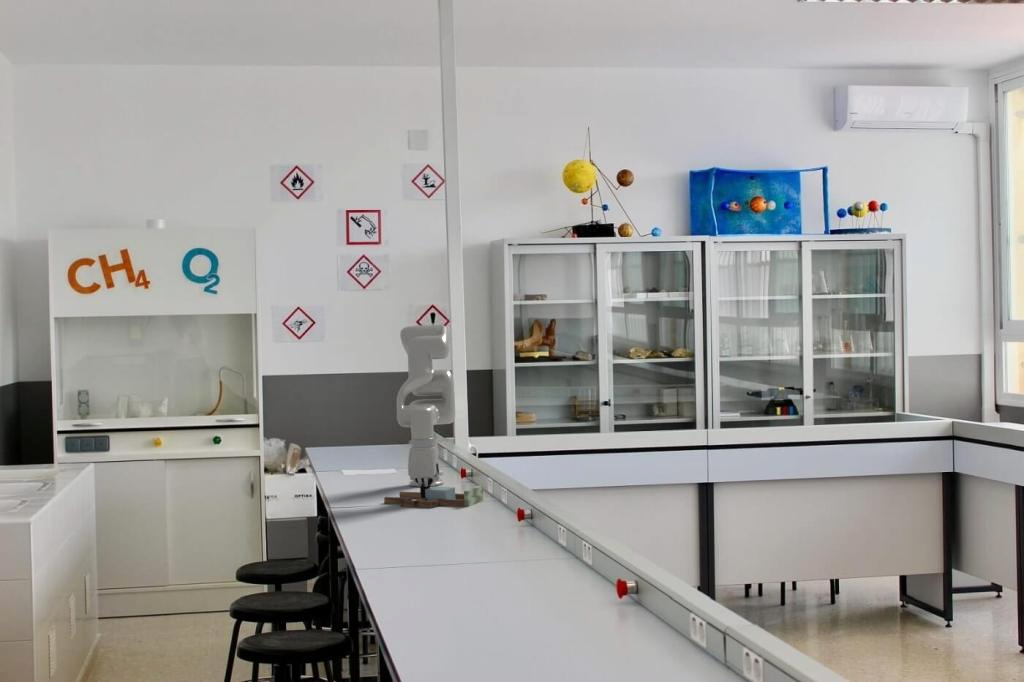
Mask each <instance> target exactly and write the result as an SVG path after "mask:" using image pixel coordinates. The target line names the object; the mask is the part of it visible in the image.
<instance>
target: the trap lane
mask: <svg viewBox="0 0 1024 682" xmlns="http://www.w3.org/2000/svg"><path fill="white" fill-rule="evenodd" d="M398 494H399V497H398V496H384V497H383V502H384V504H390V505H391V504H392V505H393V504H394V505H400V507H404V508H422V509H423V508H426V509H427V508H428V509H435V508H437V507H440V506H441V507H462V508H463V507H467V508H469V507H471V506H474V505H476V504H478V503H481V502H483V501H484V500H485V499H484V498H485V497H484V485H477V486H475V487H472V488H469V489H467V490H464V491H463V493H455V499H436V500H433V501H427V498H421V494H420V491H399V492H398Z"/></svg>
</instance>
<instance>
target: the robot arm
mask: <svg viewBox="0 0 1024 682" xmlns="http://www.w3.org/2000/svg"><path fill="white" fill-rule="evenodd" d="M449 334H450V333H449V330H448V328H447V326H446V325H443V324H430V325H428V324H427V325H410V326H406V327H403V328H401V330H400V341H401V344H402V347H403V349H404V351H405V353H406V354H407V369H408V371H407V373H408V377H407V379H406V381H404V383H403V384H402V385H401V387H400V389H399V390H398V392H397V396H396V421H397V423H398V425H399V426H400V427H402V428H410V433H411V439H410V440H408V444H409V445H411V447H409V451H408V458H407V459H408V460H407V462H408V463H407V474H408V476H409V477H410V478H409V480H411V481H409V486H410V487H418V488H419V490H420V491H419V492H420V494H421V498H426V496H425V489H428V488H431V487H437V486H440V485H443V484H444V482H445V481H444V479H442V478H440V476H443V475H444V471H443V470H440V460H439V449H438V447H439V443H438V436H437V434H436V432H435V431H434V426H435V425H451V424H452V423H454V421H455V419H456V402H455V401H456V400H455V384H454V383H455V382H454V376H453V374H452V372H451V371H450V370H448V369H434V367H433V360H445V359H447V358H448V356H449V354H450V353H449V352H450V338H449V337H450V335H449ZM410 393H412V395H414V396H417V397H429V396H430V397H431V396H434V397H435V396H440V397H442V398H428V399H427V398H426V399H416V400H414V401H411V402H410V403H409V405H405V401H406V399H407V396H408V395H409V394H410Z"/></svg>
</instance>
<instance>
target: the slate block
mask: <svg viewBox="0 0 1024 682" xmlns="http://www.w3.org/2000/svg"><path fill="white" fill-rule="evenodd" d="M455 494H456V488H455V486H453V487H452V486H450V487H449V486H431V487H430V488H428V489H425V496H426V498H427V501H433V500H436V499H455Z"/></svg>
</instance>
